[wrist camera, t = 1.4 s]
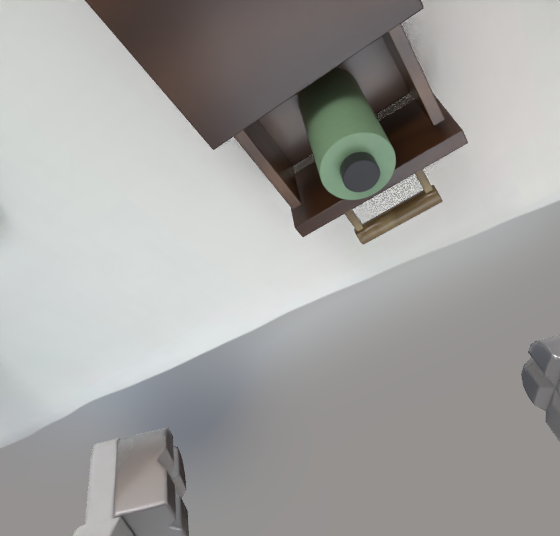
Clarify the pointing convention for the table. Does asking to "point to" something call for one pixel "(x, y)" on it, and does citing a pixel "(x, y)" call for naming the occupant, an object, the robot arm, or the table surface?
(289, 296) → the table surface
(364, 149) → the oil bottle
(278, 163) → the drawer
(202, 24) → the cabinet
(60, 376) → the table surface
